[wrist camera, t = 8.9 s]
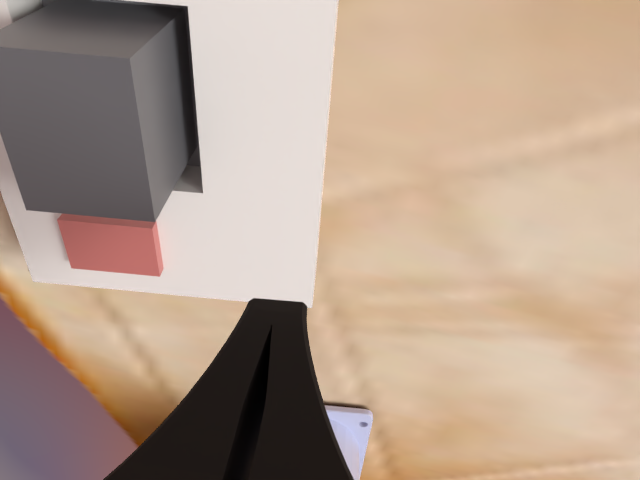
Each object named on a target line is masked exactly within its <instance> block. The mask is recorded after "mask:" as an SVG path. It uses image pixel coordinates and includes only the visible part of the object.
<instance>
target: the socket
mask: <svg viewBox="0 0 640 480" xmlns="http://www.w3.org/2000/svg"><path fill="white" fill-rule="evenodd" d="M55 1H57V0H0V29H2V28H4V27H6V26H8V25H10V24H12V23H14V22H16V21H18V20H19V19H21V18H23V17H25V16H27V15H29V14H31V13H33V12H35V11H37V10H39V9H41V8H43V7H45V6H47V5H49V4H51V3H53V2H55ZM93 1H104V2H116V3H127V4H138V5H150V6H161V7H172V8H184V9H185V20H186V31H187V43H188V54H189V66H190V77H191V89H192V100H193V112H194V124H195V135H196V149H195V151H194V153H193V154H192V156H191V158H190V160H189V162H188V163H187V165H186V167H185V169H184V171H183V173H182V174H181V176H180V178H179V180H178V182H177V183H176V185H175V187H174V189H173V191H172V193H171V194H170V196H169V198H168V200H167V202H166V203H165V205H164V207H163V209H162V211H161V212H160V214H159V216H158V218H157V220H156V222H148V221H137V220H127V219H116V218H105V217H94V216H83V215H73V214H62V213H51V212H40V211H30V210H26V208H25V205H24V202H23V199H22V196H21V193H20V190H19V187H18V184H17V181H16V178H15V175H14V172H13V170H12V167H11V164H10V161H9V158H8V155H7V152H6V149H5V146H4V143H3V140H2V137H1V134H0V192H1V194H2V197H3V200H4V203H5V205H6V208H7V211H8V214H9V216H10V219H11V222H12V225H13V227H14V230H15V233H16V236H17V238H18V241H19V244H20V247H21V249H22V252H23V255H24V258H25V260H26V263H27V266H28V269H29V271H30V274H31V277H32V280H33V282H42V283H53V284H63V285H74V286H84V287H95V288H106V289H116V290H127V291H137V292H148V293H159V294H169V295H180V296H190V297H201V298H211V299H222V300H233V301H243V302H249V301H250V300H251V299H253V298H260V299H272V300H284V301H296V302H303V303H304V304H306V305H307V308H312V304H313V295H314V286H315V277H316V267H317V255H318V243H319V231H320V219H321V207H322V195H323V183H324V171H325V159H326V147H327V135H328V123H329V111H330V99H331V87H332V75H333V63H334V51H335V39H336V27H337V15H338V3H339V0H93Z"/></svg>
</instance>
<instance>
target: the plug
mask: <svg viewBox="0 0 640 480" xmlns="http://www.w3.org/2000/svg"><path fill="white" fill-rule="evenodd" d="M0 134H1V137H2V140H3V143H4V146H5V149H6V152H7V155H8V158H9V161H10V164H11V167H12V170H13V172H14V175H15V178H16V181H17V184H18V187H19V190H20V193H21V196H22V199H23V202H24V205H25V208H26V210H30V211H40V212H51V213H62V214H73V215H83V216H94V217H105V218H116V219H127V220H137V221H148V222H156V220H157V218H158V216H159V214H160V212H161V211H162V209H163V207H164V205H165V203H166V202H167V200H168V198H169V196H170V194H171V193H172V191H173V189H174V187H175V185H176V183H177V182H178V180H179V178H180V176H181V174H182V173H183V171H184V169H185V167H186V165H187V163H188V162H189V160H190V158H191V156H192V154H193V153H194V151H195V149H196V135H195V124H194V112H193V100H192V89H191V77H190V66H189V54H188V43H187V31H186V20H185V9H184V8H172V7H161V6H150V5H138V4H127V3H116V2H104V1H93V0H57V1H55V2H53V3H51V4H49V5H47V6H45V7H43V8H41V9H39V10H37V11H35V12H33V13H31V14H29V15H27V16H25V17H23V18H21V19H19V20H18V21H16V22H14V23H12V24H10V25H8V26H6V27H4V28H2V29H0Z"/></svg>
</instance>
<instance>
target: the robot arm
mask: <svg viewBox="0 0 640 480" xmlns="http://www.w3.org/2000/svg"><path fill="white" fill-rule="evenodd" d="M372 421H373V413H372V412H371V411H370V410H367V409H360V408H349V407H339V406H328V405H324V402H323V399H322V396H321V392H320V389H319V385H318V382H317V378H316V374H315V370H314V365H313V361H312V357H311V352H310V346H309V340H308V332H307V305H306V304H304V303H303V302H296V301H284V300H272V299H260V298H253V299H251V300H250V301H249V302H248V305H247V307H246V309H245V311H244V312H243V314H242V316H241V318H240V320H239V322H238V323H237V325H236V327H235V328H234V330H233V331H232V333H231V335H230V336H229V338H228V340H227V341H226V343H225V344H224V345H223V347H222V348H221V350H220V351H219V353H218V354H217V356H216V357H215V359H214V360H213V362H212V363H211V364H210V366H209V367H208V368H207V370H206V371H205V372H204V374H203V375H202V376H201V377H200V379H199V380H198V381H197V383H196V384H195V385H194V387H193V388H192V389H191V390H190V392H189V393H188V394H187V395H186V397H185V398H184V399H183V400H182V401H181V402H180V404H179V405H178V406H177V407H176V408H175V409H174V411H173V412H172V413H171V414H170V415H169V416H168V417H167V418H166V419H165V421H164V422H163V423H162V424H161V425H160V426H159V427H158V428H157V429H156V430H155V431H154V432H153V433H152V434H151V435H150V436H149V437H148V438H147V439H146V440H145V441H144V442H143V443H142V444H141V445H140V446H139V447H138V448H137V449H136V450H135V451H134V452H133V453H132V454H131V455H130V456H129V457H128V458H127V459H126V460H125V461H124V462H123V463H122V464H121V465H119V466H118V467H117V468H116V469H115V470H114V471H112V472H111V473H110V474H109V475H108V476H107V477H106V478H104V479H103V480H359V479H360V475H361V471H362V466H363V462H364V457H365V453H366V448H367V444H368V439H369V435H370V430H371V426H372Z"/></svg>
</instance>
